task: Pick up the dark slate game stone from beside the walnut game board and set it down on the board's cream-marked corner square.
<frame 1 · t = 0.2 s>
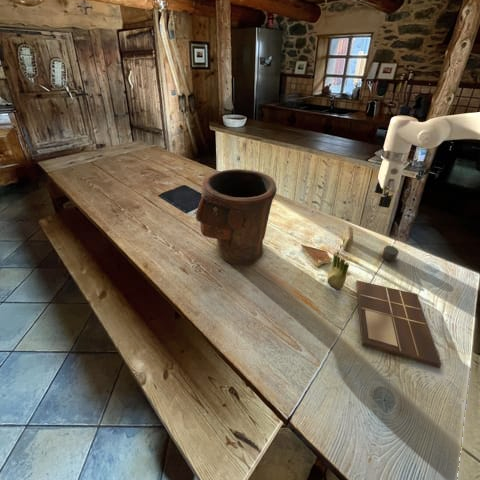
hand: (381, 199, 94), 23 cm above the table, tool pointing down, fingers open, 9 cm apart
shard: (314, 258, 101), on the table
game board: (391, 319, 78), on the table
slate stone: (388, 258, 101), on the table
fennel bulb: (334, 285, 89), on the table
clay pot: (234, 251, 103), on the table
tan figurine: (344, 246, 107), on the table
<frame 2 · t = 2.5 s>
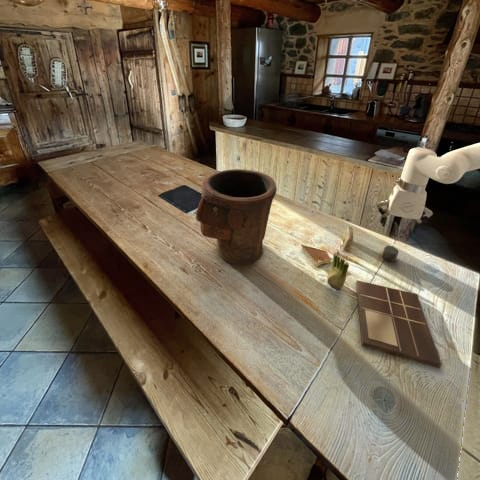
hand: (397, 227, 95), 14 cm above the table, tool pointing down, fingers open, 9 cm apart
nothing on the table moved.
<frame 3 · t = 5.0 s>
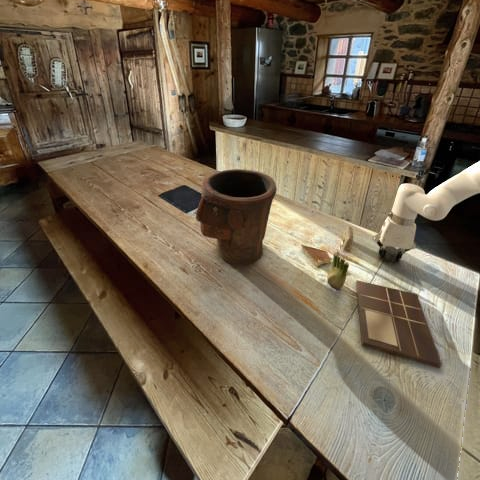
hand: (388, 257, 101), 0 cm above the table, tool pointing down, fingers closed on slate stone, 4 cm apart
slate stone: (388, 258, 101), on the table, touching gripper
everything else where it was.
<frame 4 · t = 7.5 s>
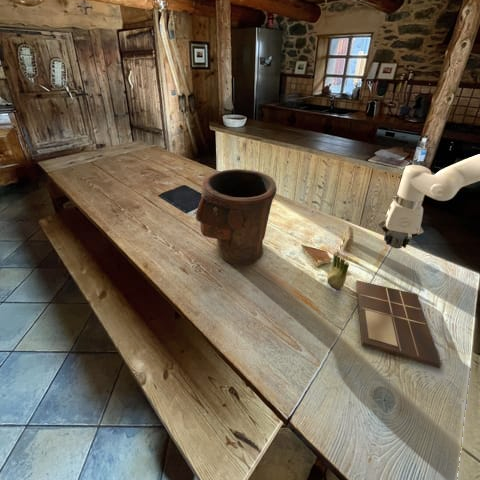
hand: (395, 243, 98), 7 cm above the table, tool pointing down, fingers closed on slate stone, 4 cm apart
slate stone: (394, 244, 98), point 7 cm above the table, touching gripper
everything else where it was.
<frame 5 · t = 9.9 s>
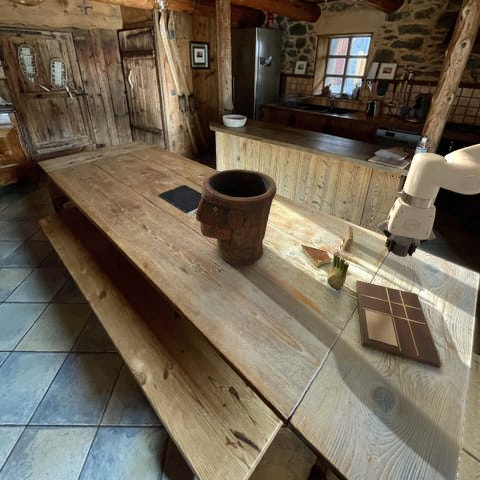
hand: (398, 250, 79), 17 cm above the table, tool pointing down, fingers closed on slate stone, 4 cm apart
slate stone: (398, 251, 80), point 17 cm above the table, touching gripper
everything else where it was.
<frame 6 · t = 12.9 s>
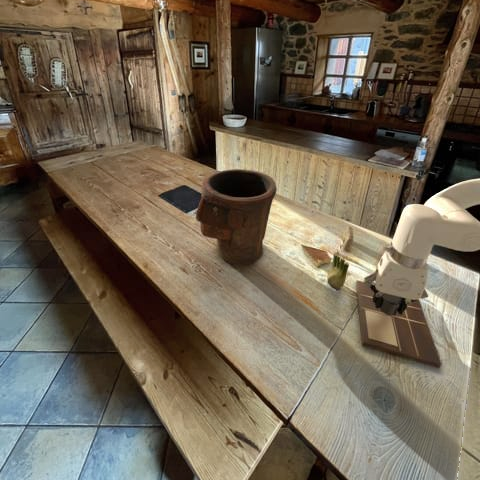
hand: (387, 306, 70), 10 cm above the table, tool pointing down, fingers closed on slate stone, 4 cm apart
slate stone: (387, 307, 71), point 10 cm above the table, touching gripper
everything else where it was.
when the fingers open (2 cm above the table, at t = 15.1 s): slate stone stays where it is, resting on game board.
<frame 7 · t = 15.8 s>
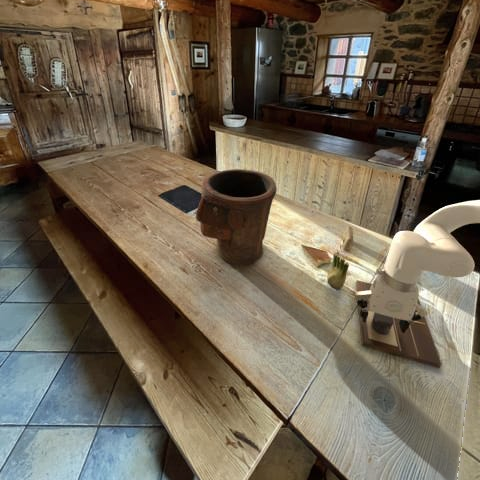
hand: (382, 322, 73), 3 cm above the table, tool pointing down, fingers open, 9 cm apart
slate stone: (380, 326, 74), point 2 cm above the table, touching game board
everything else where it was.
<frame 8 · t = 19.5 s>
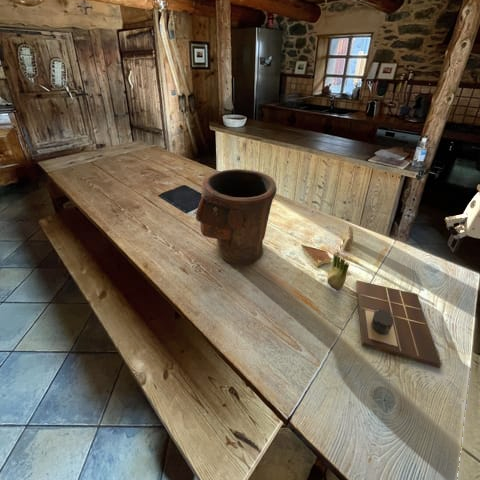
hand: (474, 253, 66), 26 cm above the table, tool pointing down, fingers open, 9 cm apart
nothing on the table moved.
at the end: slate stone 0.1 cm from the target spot on the game board, point 1.7 cm above the game board's base; slate stone tilted 0°; the gripper is holding nothing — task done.
